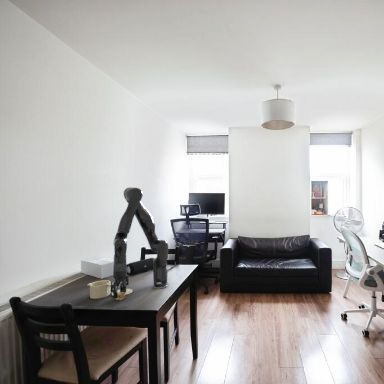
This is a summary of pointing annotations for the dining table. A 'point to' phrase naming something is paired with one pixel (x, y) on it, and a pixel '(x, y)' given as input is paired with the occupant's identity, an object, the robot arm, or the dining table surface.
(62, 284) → the dining table surface
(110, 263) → the white box
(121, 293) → the block
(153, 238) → the robot arm
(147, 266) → the portable speaker
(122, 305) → the dining table surface
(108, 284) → the pot
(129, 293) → the lid
